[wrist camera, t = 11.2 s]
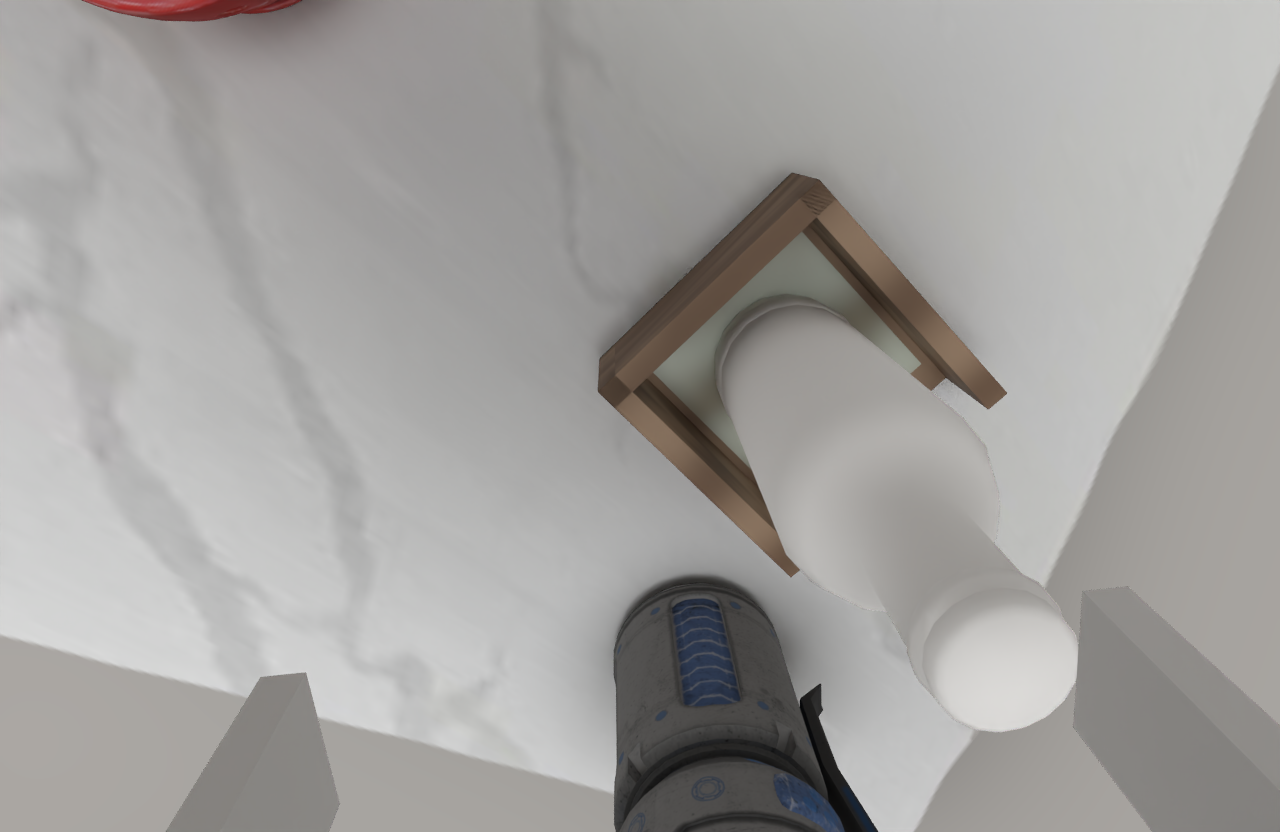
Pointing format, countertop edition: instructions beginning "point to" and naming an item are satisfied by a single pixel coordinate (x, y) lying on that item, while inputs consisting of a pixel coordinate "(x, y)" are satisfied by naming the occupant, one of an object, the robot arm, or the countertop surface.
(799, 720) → the beverage bottle
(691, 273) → the wooden stand
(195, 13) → the plant pot
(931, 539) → the bottle
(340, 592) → the countertop surface
